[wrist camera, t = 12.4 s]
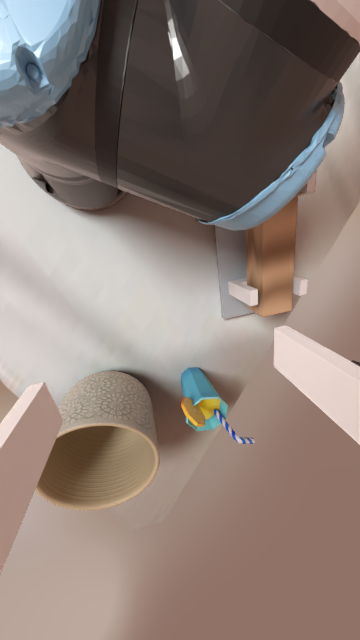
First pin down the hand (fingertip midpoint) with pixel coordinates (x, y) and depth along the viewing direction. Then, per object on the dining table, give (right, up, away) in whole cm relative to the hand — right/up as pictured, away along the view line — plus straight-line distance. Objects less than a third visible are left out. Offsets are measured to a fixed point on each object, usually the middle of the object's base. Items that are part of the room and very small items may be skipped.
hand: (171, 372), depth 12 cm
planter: (-14, -12, +31) cm, 36 cm away
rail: (+14, +15, +22) cm, 30 cm away
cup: (+4, -10, +34) cm, 35 cm away
